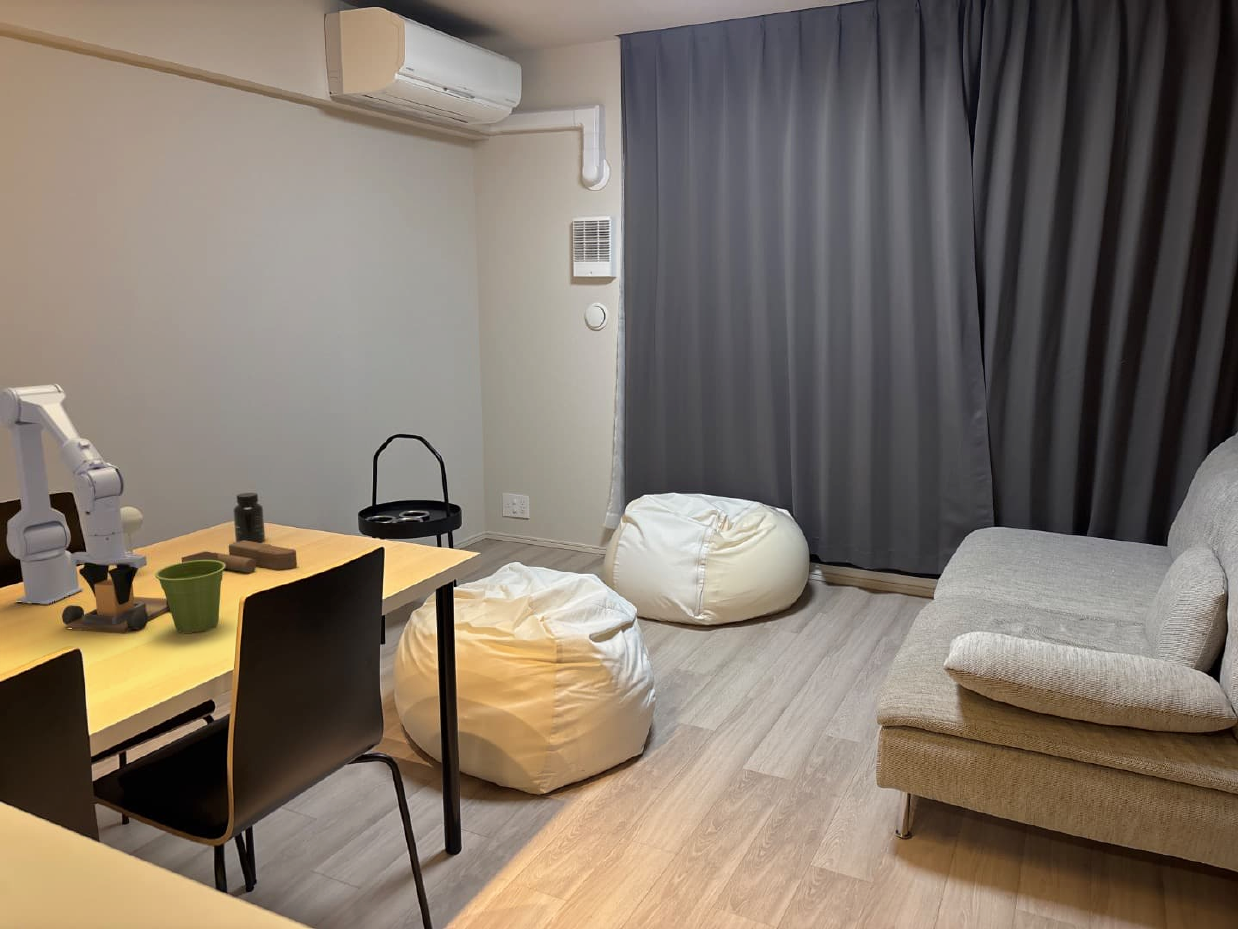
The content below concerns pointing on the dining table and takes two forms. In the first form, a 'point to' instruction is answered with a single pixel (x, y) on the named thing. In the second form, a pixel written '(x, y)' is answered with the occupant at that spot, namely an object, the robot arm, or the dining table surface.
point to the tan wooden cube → (110, 599)
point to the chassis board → (119, 623)
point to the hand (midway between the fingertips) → (113, 602)
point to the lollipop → (131, 521)
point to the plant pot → (193, 593)
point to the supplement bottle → (249, 518)
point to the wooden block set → (250, 557)
